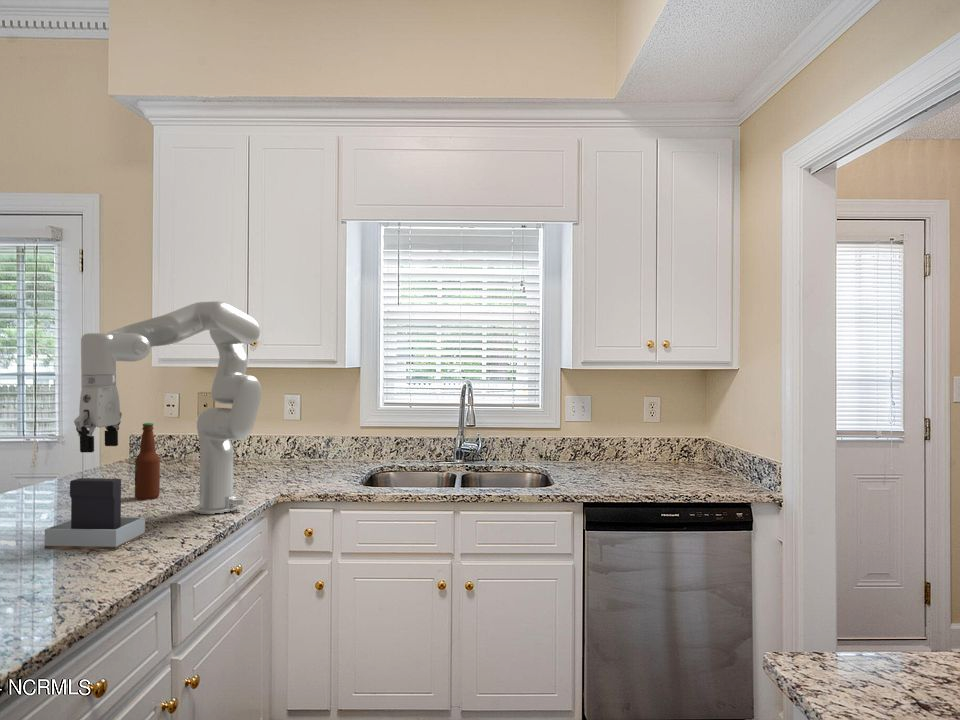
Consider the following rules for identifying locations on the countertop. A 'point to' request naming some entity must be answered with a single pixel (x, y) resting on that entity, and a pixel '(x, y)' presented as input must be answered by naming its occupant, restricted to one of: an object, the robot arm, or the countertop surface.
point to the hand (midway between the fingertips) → (99, 448)
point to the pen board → (89, 546)
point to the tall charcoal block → (95, 503)
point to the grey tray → (94, 534)
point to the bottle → (147, 467)
